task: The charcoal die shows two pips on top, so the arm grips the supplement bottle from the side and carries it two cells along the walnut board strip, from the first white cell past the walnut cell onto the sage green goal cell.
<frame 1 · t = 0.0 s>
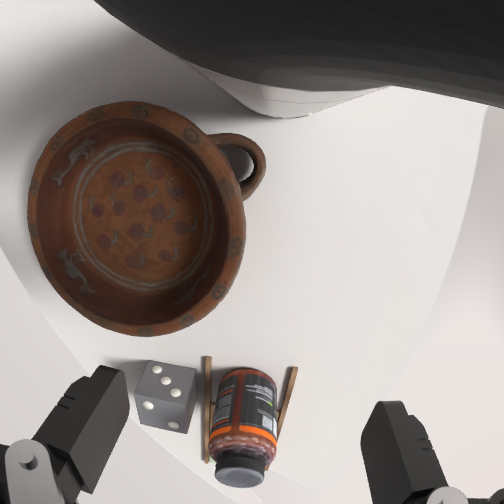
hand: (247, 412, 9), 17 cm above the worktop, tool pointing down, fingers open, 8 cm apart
dish: (143, 212, 25), on the worktop
die: (173, 381, 32), on the worktop
supplement bottle: (248, 385, 31), resting on board
board: (242, 425, 34), on the worktop
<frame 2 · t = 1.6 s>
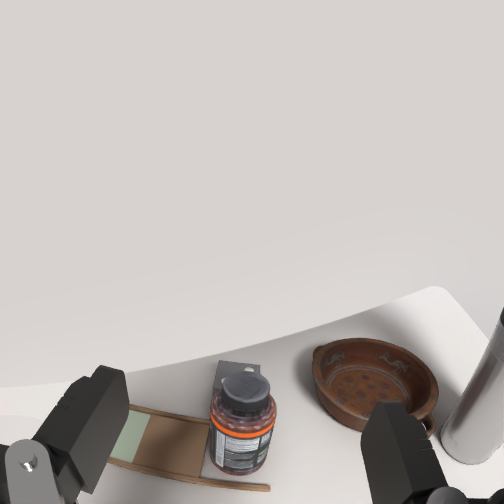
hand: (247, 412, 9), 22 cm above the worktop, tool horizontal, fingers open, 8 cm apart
dish: (367, 400, 39), on the worktop
die: (234, 404, 36), on the worktop
supplement bottle: (237, 456, 29), resting on board
board: (172, 445, 29), on the worktop
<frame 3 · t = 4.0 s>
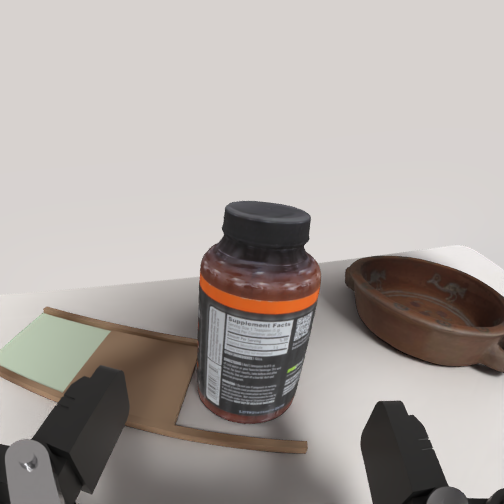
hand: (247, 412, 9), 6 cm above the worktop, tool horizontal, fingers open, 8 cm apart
dish: (422, 331, 28), on the worktop
supplement bottle: (244, 395, 18), resting on board
board: (136, 373, 19), on the worktop
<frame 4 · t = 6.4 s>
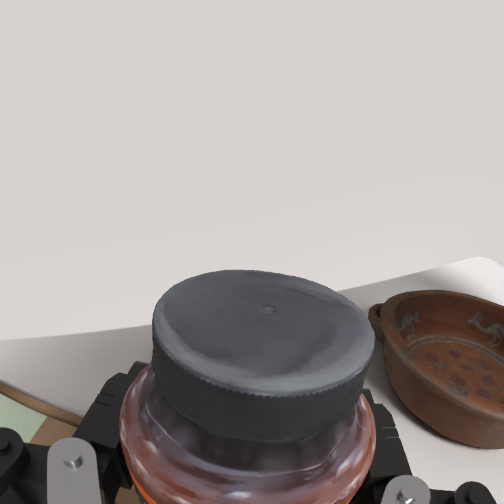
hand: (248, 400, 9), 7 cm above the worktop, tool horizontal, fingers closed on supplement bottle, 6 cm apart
dish: (464, 392, 19), on the worktop
board: (75, 493, 9), on the worktop
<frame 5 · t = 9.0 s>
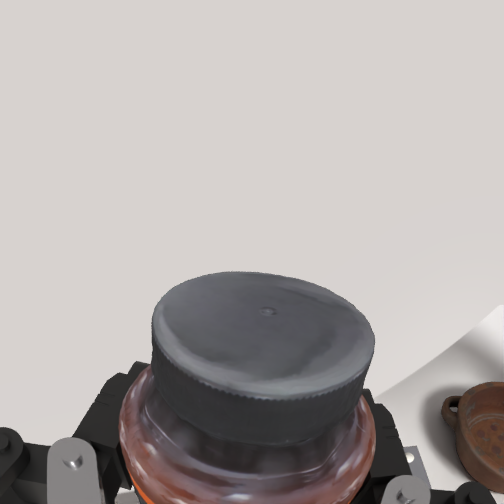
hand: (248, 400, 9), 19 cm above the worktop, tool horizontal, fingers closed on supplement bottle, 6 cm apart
dish: (498, 454, 23), on the worktop
die: (376, 497, 21), on the worktop
when the fingers open (7 cm above the worktop, at t = 11.6 s): supplement bottle stays where it is, resting on board.
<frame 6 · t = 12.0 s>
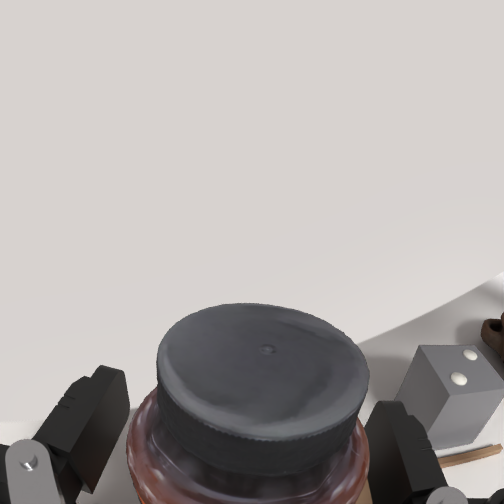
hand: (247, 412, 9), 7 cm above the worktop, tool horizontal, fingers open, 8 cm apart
die: (433, 423, 17), on the worktop
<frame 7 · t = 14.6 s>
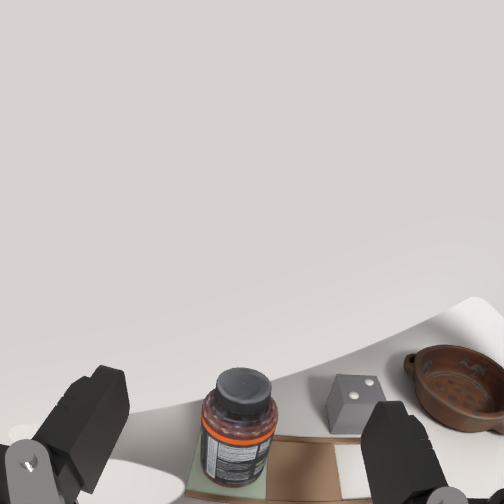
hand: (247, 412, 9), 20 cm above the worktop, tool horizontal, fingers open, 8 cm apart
dish: (455, 403, 35), on the worktop
die: (348, 419, 33), on the worktop
supplement bottle: (231, 467, 25), resting on board
board: (302, 472, 25), on the worktop
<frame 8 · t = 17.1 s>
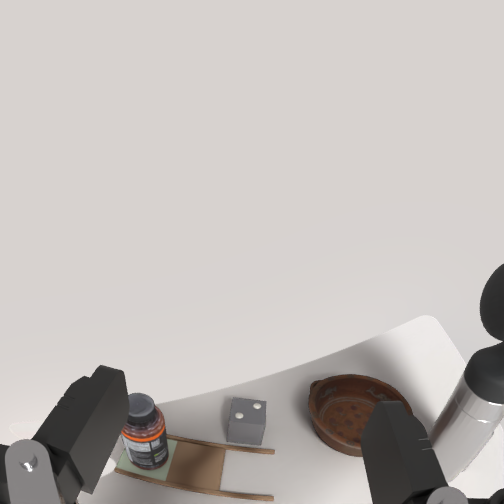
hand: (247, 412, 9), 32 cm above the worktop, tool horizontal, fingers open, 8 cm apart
dish: (354, 427, 45), on the worktop
die: (245, 431, 43), on the worktop
supplement bottle: (148, 456, 36), resting on board
board: (196, 466, 36), on the worktop
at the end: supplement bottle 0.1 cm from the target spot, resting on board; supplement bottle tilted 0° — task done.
